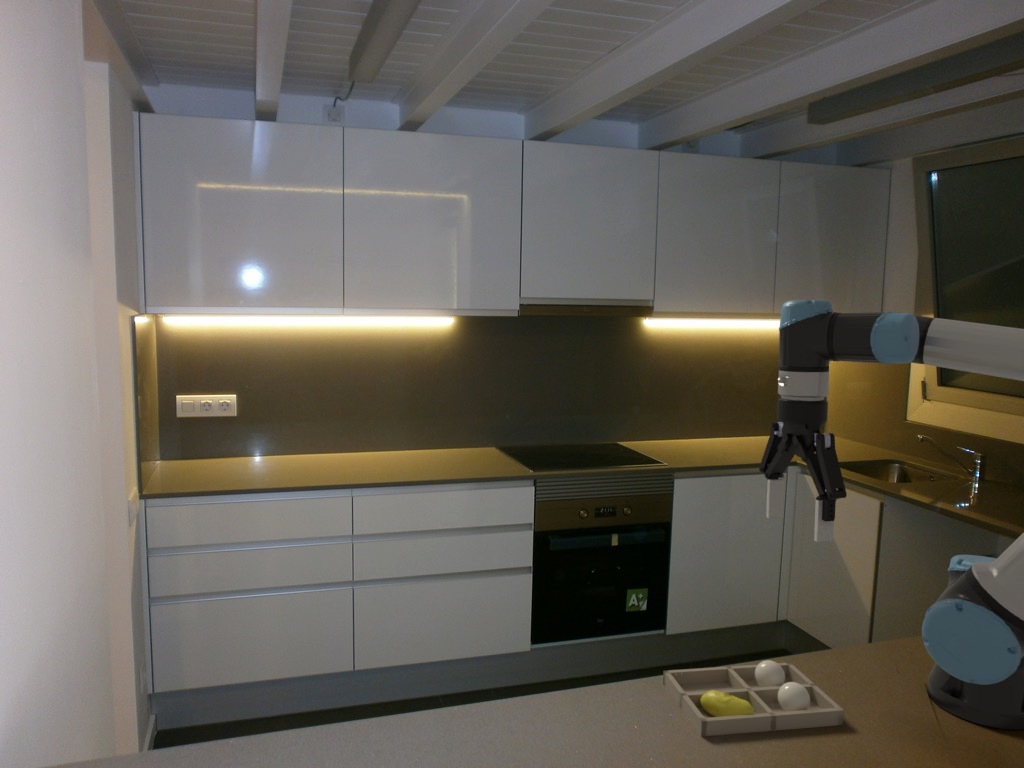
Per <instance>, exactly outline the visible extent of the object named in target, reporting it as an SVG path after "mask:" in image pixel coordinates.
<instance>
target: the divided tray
mask: <svg viewBox="0 0 1024 768" xmlns="http://www.w3.org/2000/svg"><path fill="white" fill-rule="evenodd" d="M778 664H779V665H780V666H781V667H782V669H783V670H784V673H785V682H784V684H785V683H788V682H796V683H799V684H801V685H802V686H803V687H805V689H806V690H807V691H808V693H809V696H810V706H809V708H808V710H800V711H787V712H786V711H784V710H783V709H782V707H781V706H780V704H779V702H778V691H779V689H780V687H781V686H773V687H760V686H759V684H758V683H757V681H756V679H755V669H756V667H757V665H758V664H747V665H733V666H732V665H730V666H716V667H714V666H713V667H702V668H701V667H700V668H699V667H698V668H687V669H686V668H685V669H683V668H682V669H669V670H663V673H662V674H663V675H662V685H663V686H664V688H665V690H667V692H668V693H669V694H670V696H671V697H672V699H673V701H675V703H676V704H677V706H678V707H679V708H680V710H681V711H682V713H683V714H684V715H685V716H686V718H687V719H688V720H689V722H690V723H691V725H692V727H694V729H695V730H696V731H697V733H698V734H699V735H700V737H711V736H725V735H734V734H735V735H737V734H745V733H747V734H748V733H759V732H769V731H770V732H772V731H773V732H774V731H782V730H783V731H785V730H796V729H806V728H807V729H808V728H809V729H810V728H811V729H812V728H820V727H832V726H843V725H844V714H845V713H844V712H845V710H844V709H843V708H842V707H841V706H840V705H839V704H838V703H836V702H835V701H834V700H833V699H832V698H831V697H830V696H829V695H827V694H826V693H825V692H824V691H823V690H822V689H821V688H820V687H818V686H817V685H816V684H815V683H814V682H813V681H811V679H809V678H808V676H806V675H805V674H804V673H802V672H801V670H799V669H798V668H797V667H796V666H795V665H794V664H792V663H791V662H778ZM694 671H695V672H694ZM681 673H683V674H681ZM675 674H677V675H675ZM710 690H716V691H719V692H723V693H726V694H730V695H733V696H735V697H737V698H740V699H743V700H746V701H748V702H749V703H750V704H751V706H752V707H753V709H754V712H755V714H749V715H736V716H723V717H715V716H713V715H711V714H709V713H708V712H706V711H705V710H704V709H703V707H702V706H701V702H700V699H701V697H702V696H703V694H705V693H706V692H708V691H710Z"/></svg>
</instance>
